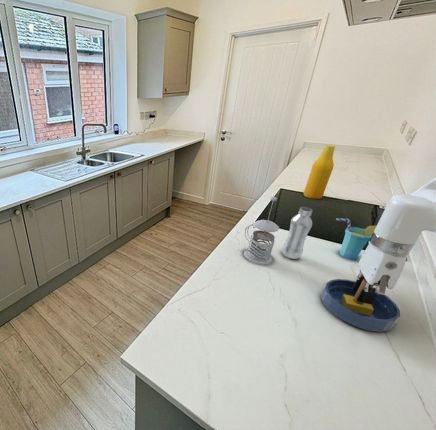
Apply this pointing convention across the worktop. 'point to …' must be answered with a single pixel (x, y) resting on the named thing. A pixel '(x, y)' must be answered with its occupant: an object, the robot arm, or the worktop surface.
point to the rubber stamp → (357, 306)
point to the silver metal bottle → (297, 233)
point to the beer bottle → (320, 174)
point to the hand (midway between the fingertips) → (361, 296)
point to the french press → (259, 252)
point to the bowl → (378, 321)
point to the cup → (354, 240)
